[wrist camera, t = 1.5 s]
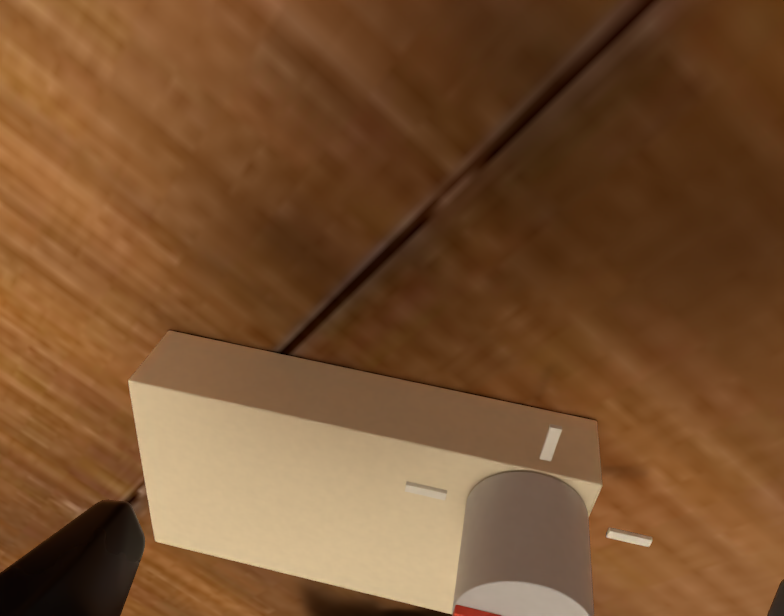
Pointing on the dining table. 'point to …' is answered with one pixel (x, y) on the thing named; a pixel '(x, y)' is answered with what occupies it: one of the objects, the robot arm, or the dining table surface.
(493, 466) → the panel
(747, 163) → the dining table surface
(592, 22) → the dining table surface
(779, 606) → the robot arm
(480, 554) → the knob
